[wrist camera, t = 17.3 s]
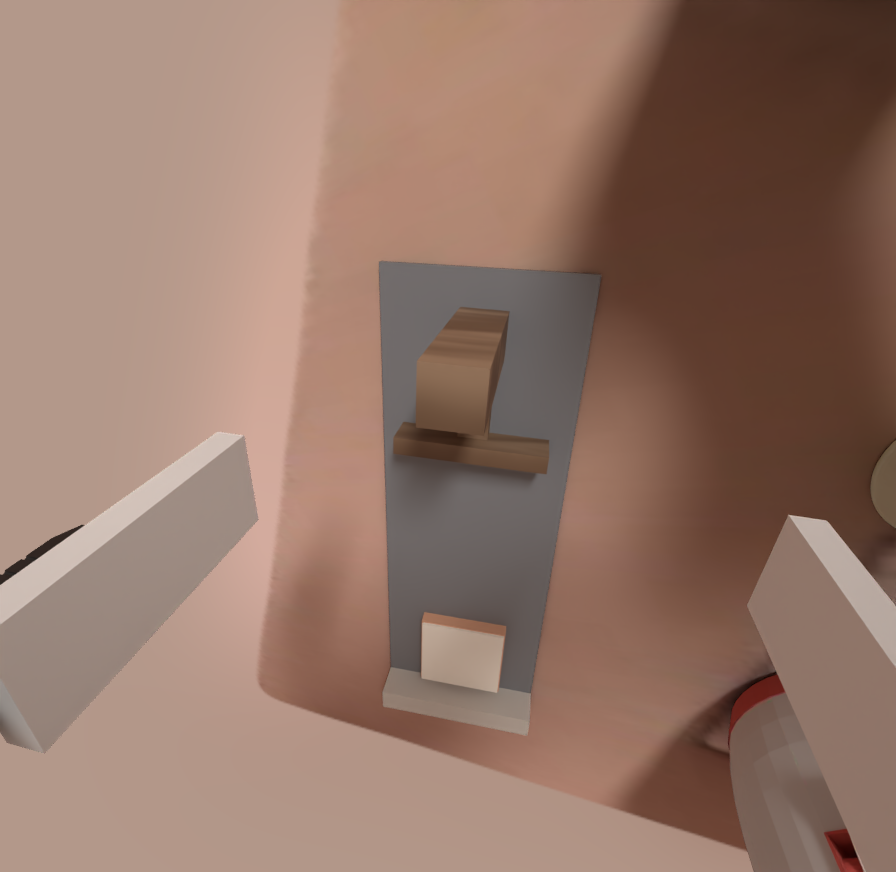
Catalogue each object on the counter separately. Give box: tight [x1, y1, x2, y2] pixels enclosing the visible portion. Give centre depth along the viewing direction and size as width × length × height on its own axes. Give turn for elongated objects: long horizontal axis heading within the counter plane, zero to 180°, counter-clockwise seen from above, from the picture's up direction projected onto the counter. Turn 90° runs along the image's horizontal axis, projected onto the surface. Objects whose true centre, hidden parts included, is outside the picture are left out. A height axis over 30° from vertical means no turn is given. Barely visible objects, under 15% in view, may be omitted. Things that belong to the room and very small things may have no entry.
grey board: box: [379, 261, 601, 736], centre depth 36 cm, size 38×13×3 cm, turn 178°
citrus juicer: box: [728, 674, 866, 872], centre depth 30 cm, size 16×17×20 cm
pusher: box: [393, 307, 549, 474], centre depth 26 cm, size 9×10×11 cm
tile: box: [421, 612, 506, 693], centre depth 42 cm, size 7×7×1 cm
